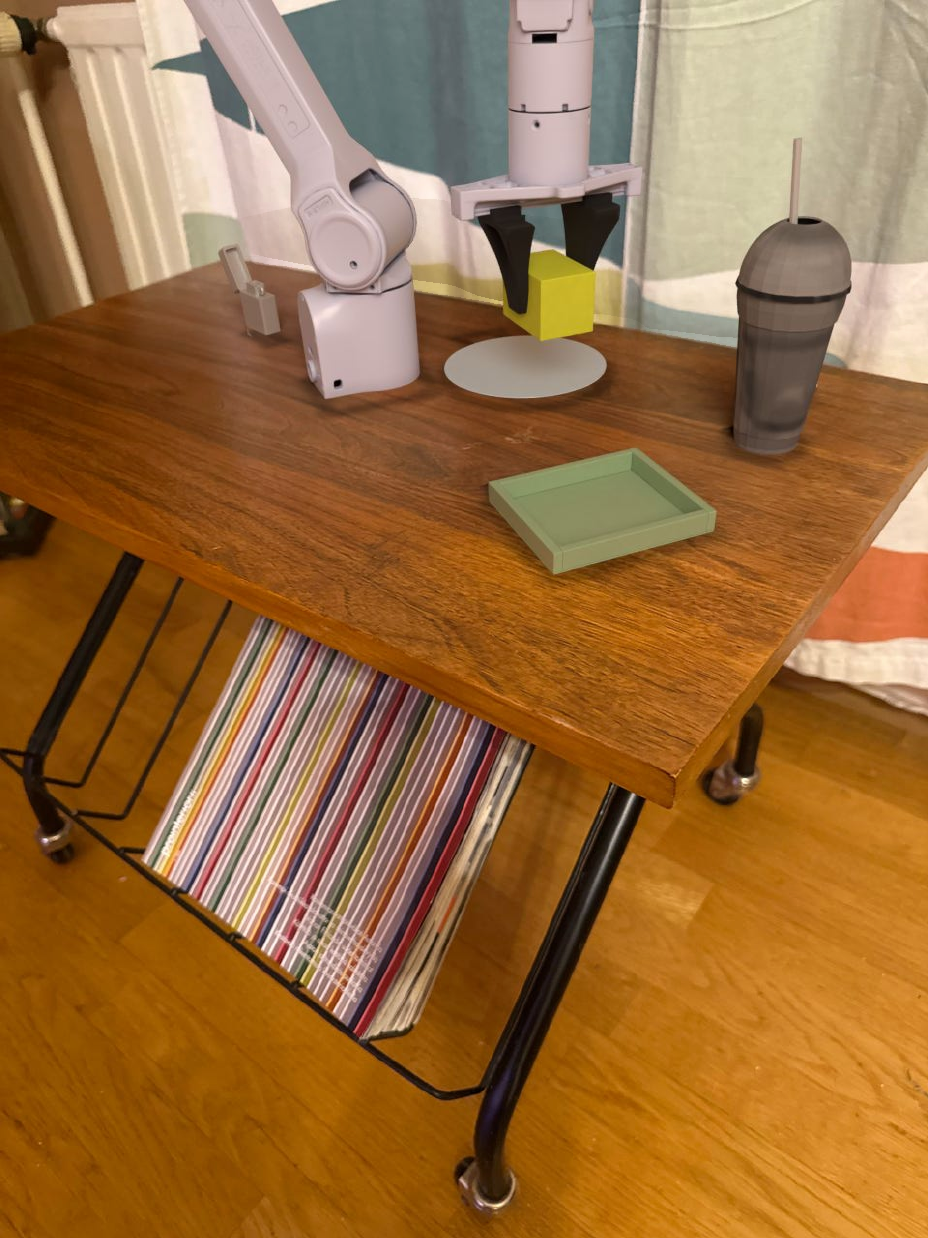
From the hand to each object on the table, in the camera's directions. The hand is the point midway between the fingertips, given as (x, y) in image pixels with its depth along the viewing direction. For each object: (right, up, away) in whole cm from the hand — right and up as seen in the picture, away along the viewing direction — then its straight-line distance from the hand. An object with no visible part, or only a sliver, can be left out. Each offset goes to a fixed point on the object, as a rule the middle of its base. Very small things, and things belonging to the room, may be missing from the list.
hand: (546, 304), depth 70 cm
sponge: (0, -1, +1) cm, 1 cm away
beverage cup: (+16, -12, -4) cm, 20 cm away
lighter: (-27, +4, +19) cm, 33 cm away
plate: (-1, -3, +8) cm, 8 cm away
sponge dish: (+2, -18, -12) cm, 22 cm away
